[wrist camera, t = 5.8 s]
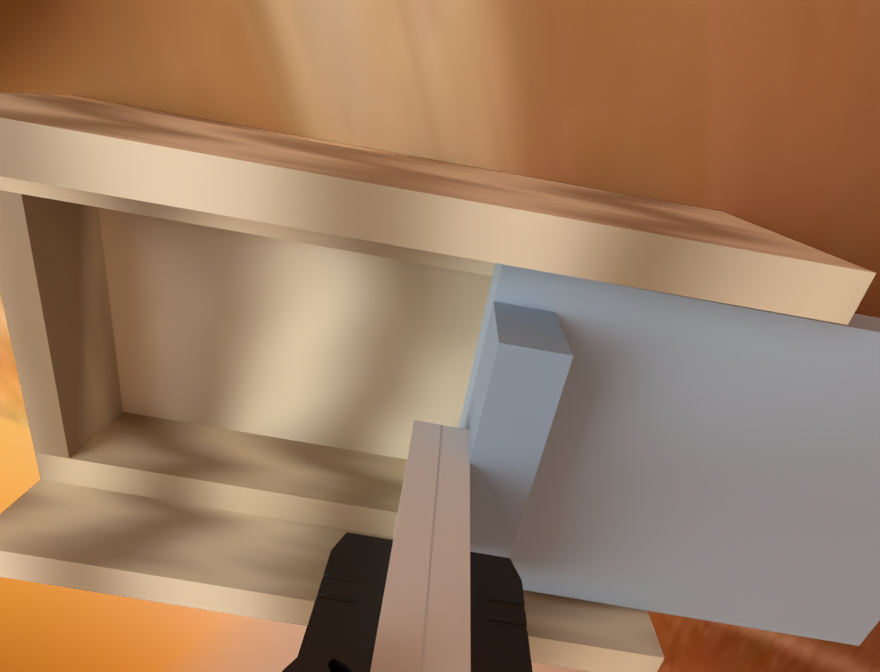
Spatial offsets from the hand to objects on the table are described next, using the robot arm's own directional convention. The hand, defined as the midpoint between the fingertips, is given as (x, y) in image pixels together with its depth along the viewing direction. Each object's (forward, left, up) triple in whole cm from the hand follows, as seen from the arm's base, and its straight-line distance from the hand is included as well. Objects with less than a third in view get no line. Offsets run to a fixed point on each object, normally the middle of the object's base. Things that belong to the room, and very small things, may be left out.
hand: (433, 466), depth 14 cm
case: (0, -3, -7) cm, 7 cm away
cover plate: (0, +8, -3) cm, 9 cm away
